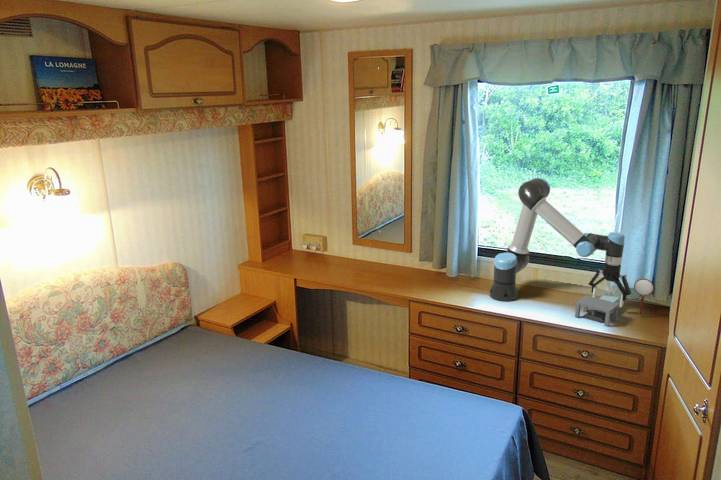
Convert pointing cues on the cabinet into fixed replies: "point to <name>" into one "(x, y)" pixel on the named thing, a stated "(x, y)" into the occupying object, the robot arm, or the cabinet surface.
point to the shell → (609, 298)
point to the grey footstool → (597, 308)
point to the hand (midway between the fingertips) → (607, 302)
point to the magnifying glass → (643, 290)
